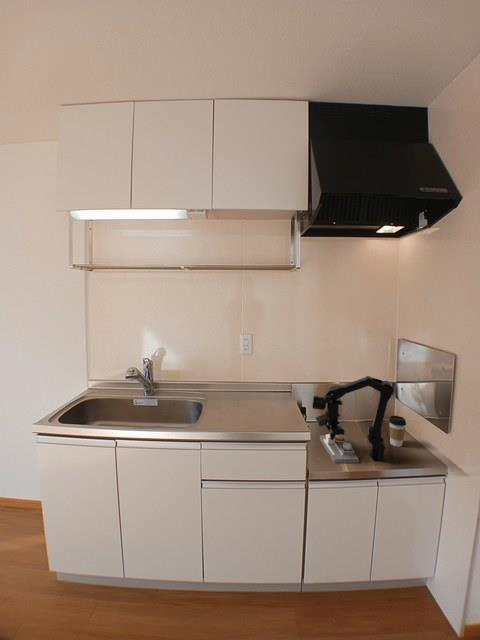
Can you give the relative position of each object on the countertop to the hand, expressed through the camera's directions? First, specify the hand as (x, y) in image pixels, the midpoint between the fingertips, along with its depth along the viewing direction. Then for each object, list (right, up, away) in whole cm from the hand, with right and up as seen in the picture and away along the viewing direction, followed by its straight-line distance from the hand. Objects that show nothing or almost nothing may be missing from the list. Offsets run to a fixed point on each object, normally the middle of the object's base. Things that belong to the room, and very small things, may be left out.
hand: (331, 439), depth 160 cm
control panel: (+3, -6, 0) cm, 6 cm away
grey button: (+6, -2, -5) cm, 8 cm away
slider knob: (0, -3, +4) cm, 5 cm away
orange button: (+6, -1, +5) cm, 8 cm away
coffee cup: (+37, -5, +6) cm, 38 cm away
